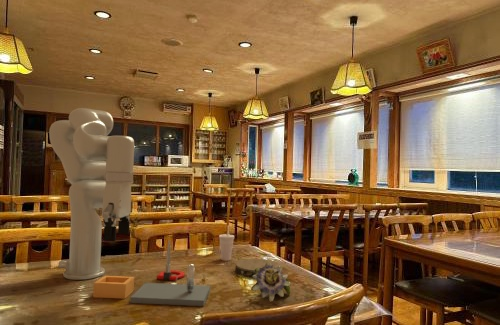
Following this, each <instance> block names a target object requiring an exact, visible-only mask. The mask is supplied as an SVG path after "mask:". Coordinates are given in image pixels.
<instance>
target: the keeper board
mask: <svg viewBox="0 0 500 325" xmlns="http://www.w3.org/2000/svg"><path fill="white" fill-rule="evenodd" d="M210 293H211V285H206V284H205V285H203V284H201V285H200V284H194V289H193V291H192V292H188V291H187V284H182V283H180V284H179V283H157V282H145V283H144V284H142V285H141V286H140V287H139V288H138V289H137V290H136V291H135V292H134V293H133V294H132V295H131V296H130V304H131V303H132V304H148V305H149V304H151V305H172V306H175V305H176V306H192V307H193V306H194V307H205V304H206V302H207V299H208V297H209V295H210Z"/></svg>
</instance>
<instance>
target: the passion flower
mask: <svg viewBox="0 0 500 325" xmlns="http://www.w3.org/2000/svg"><path fill="white" fill-rule="evenodd" d="M272 267H273V265H271V264H270V262H268V261H267V262H266V265H265V266H264V267H263V268H260V269H258V268H255V271H253V269H252V272H253V274H254V275H253V276H252V277H253V278H252V279H254V280H256V283H254V284H253V285H252V286H251V287H250V290H251V291H255V292H256V291H258V290H259V291H260V297H261V298H262V299H265V298H267V299H268V301H269V302H270V303H271V302H273V301H274V299H275V295H278V296H279V297H282V298H283V297H284V294H285V293H284V291H285V292H286V294H287V296H290V294H291V287H290V286H292V283H291V281H290V280H289V278H288V277H289V274H286V273H283V272H282V270H283V266H282V265H281V266H280V265H279V267H277V268H275V267H274V268H272ZM257 271H258V272H257ZM255 272H256V274H255Z"/></svg>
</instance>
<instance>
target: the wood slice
mask: <svg viewBox="0 0 500 325" xmlns="http://www.w3.org/2000/svg"><path fill="white" fill-rule="evenodd" d="M267 261H268V262H270V264H271V265H273V267H272V268H274V267H275V268H277V267H280V264H279V262H276V261H274V260H270V259H266V258H265V259H264V258H244V259H240V260H238V261H236V262H235V273H236V274H237V275H238V276H241V277H245V278H250V279H254V278H253V277H252V276H253V275H254V274H253V272H252V269H253V271H255V268H258V269H260V268H263V267H264V266H265V265H266V262H267ZM257 272H258V271H257ZM255 274H256V272H255Z"/></svg>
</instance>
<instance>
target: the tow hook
mask: <svg viewBox="0 0 500 325" xmlns="http://www.w3.org/2000/svg"><path fill="white" fill-rule="evenodd" d="M167 242H168V243H167V248H166V260H165V262H166V263H165V269H164V271H161V272H159V274H157V276H156V279H157V280H160V281H161V280H162V281H163V280H164V281H168V282H170V281H174V282H177V281H178V279H182V278H184V277H185V272H183V271H180V270H171V252H172V246H171V242H172V241H171V240H167ZM174 274H175V275H174Z"/></svg>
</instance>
